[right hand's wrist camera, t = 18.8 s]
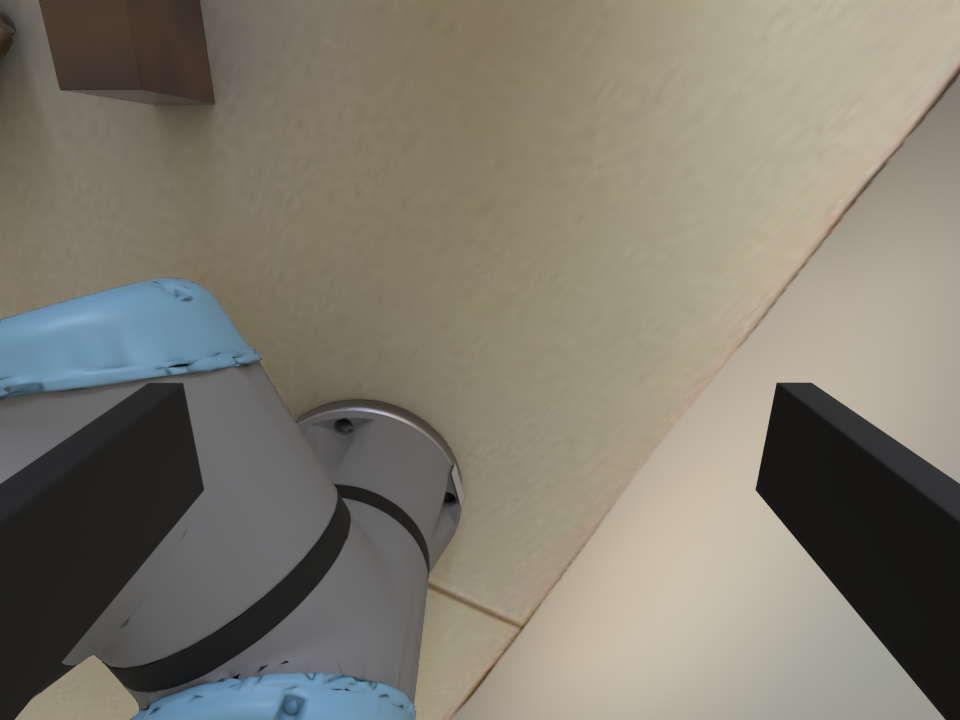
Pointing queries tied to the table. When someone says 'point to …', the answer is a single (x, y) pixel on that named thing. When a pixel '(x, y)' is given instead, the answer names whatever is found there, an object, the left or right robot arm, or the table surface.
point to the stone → (5, 33)
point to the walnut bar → (130, 49)
